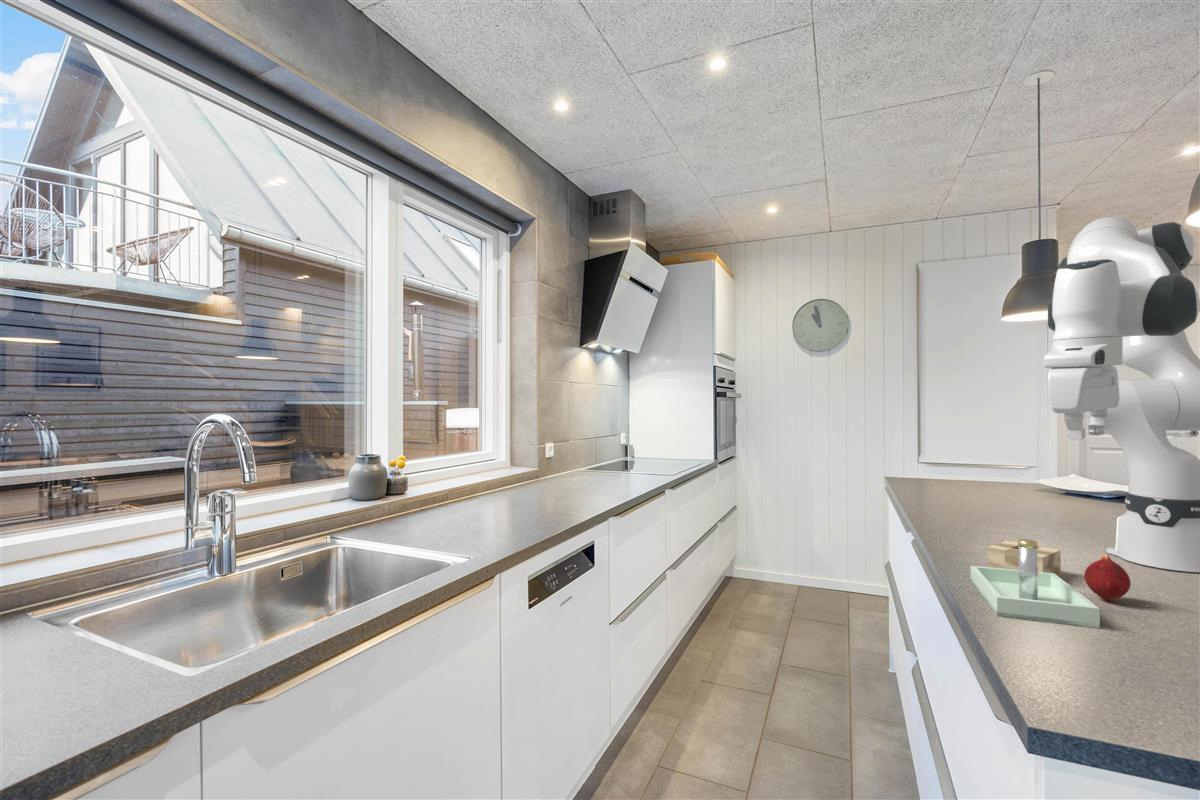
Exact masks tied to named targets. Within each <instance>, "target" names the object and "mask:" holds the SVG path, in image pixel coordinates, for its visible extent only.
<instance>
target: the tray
mask: <svg viewBox="0 0 1200 800" xmlns="http://www.w3.org/2000/svg"><path fill="white" fill-rule="evenodd" d="M970 582H971V584H972V585H973V586H974V588H975V589H976V590H977V591H978V593H979V594H980V596H981V597H982V599H984V600H985V602H986V603H987V604H988V605H989V607H990V608H991V609H992V611H993V612H994V614H995V615H996V616H997V617H1007V618H1012V619H1013V618H1014V619H1021V620H1031V621H1037V622H1046V623H1054V624H1061V625H1068V626H1069V625H1071V626H1079V627H1086V628H1096V629H1100V628H1101V626H1100V625H1101V623H1100V622H1101V619H1100V618H1101V617H1100V615H1101V614H1100V612H1101V611H1100V608H1099V607H1098V606H1097V605H1096V604H1094V603H1093V602H1092V601H1090V600H1089V599H1088V598H1087V597H1085V596H1084V595H1083V594H1082V593H1080V592H1079V591H1078V590H1076V589H1075V588H1074V587H1072V586H1071V584H1069V583H1067V582H1066V581H1065V580H1063V579H1062V578H1061V577H1060V576H1057V575H1056V574H1055V573H1045V572H1038V600H1030V599H1021V598H1019V570H1012V569H1001V568H991V567H988V566H979V565H978V566H977V565H970Z"/></svg>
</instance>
